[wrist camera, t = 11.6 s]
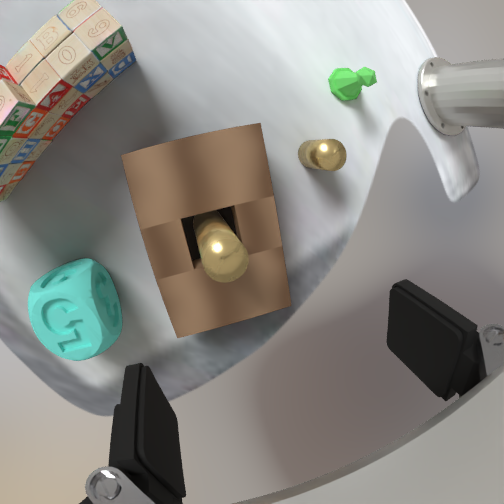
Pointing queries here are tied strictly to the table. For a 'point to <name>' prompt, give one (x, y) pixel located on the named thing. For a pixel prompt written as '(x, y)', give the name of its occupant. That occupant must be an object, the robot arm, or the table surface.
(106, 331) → the decorative dice
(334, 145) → the short pin
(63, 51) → the stack of blocks
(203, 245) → the tall pin
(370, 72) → the game piece
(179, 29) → the table surface
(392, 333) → the robot arm
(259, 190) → the bridge board
